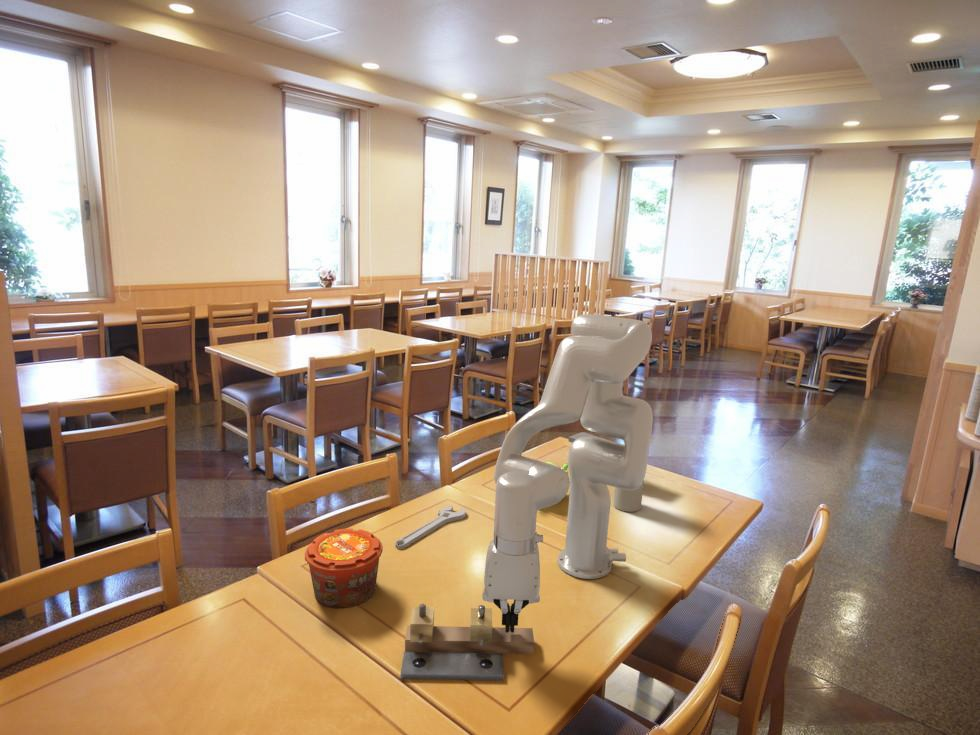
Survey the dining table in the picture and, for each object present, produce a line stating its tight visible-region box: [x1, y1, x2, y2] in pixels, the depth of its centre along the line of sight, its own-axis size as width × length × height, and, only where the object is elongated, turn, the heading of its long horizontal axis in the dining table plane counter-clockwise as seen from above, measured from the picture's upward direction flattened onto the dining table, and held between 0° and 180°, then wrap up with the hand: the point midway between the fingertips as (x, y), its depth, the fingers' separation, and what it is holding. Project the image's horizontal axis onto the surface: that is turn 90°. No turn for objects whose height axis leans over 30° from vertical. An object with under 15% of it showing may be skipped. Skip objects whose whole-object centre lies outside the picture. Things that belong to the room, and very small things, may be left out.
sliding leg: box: [469, 604, 493, 646], centre depth 110 cm, size 4×7×6 cm, turn 1°
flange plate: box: [399, 651, 504, 681], centre depth 106 cm, size 18×6×1 cm, turn 91°
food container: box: [304, 528, 384, 609], centre depth 126 cm, size 16×16×11 cm
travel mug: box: [612, 443, 645, 513], centre depth 169 cm, size 8×8×18 cm
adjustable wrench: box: [394, 505, 467, 550], centre depth 155 cm, size 25×6×2 cm, turn 140°
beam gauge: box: [404, 603, 535, 655], centre depth 110 cm, size 24×7×8 cm, turn 91°
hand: (509, 627), depth 111 cm, fingers closed
